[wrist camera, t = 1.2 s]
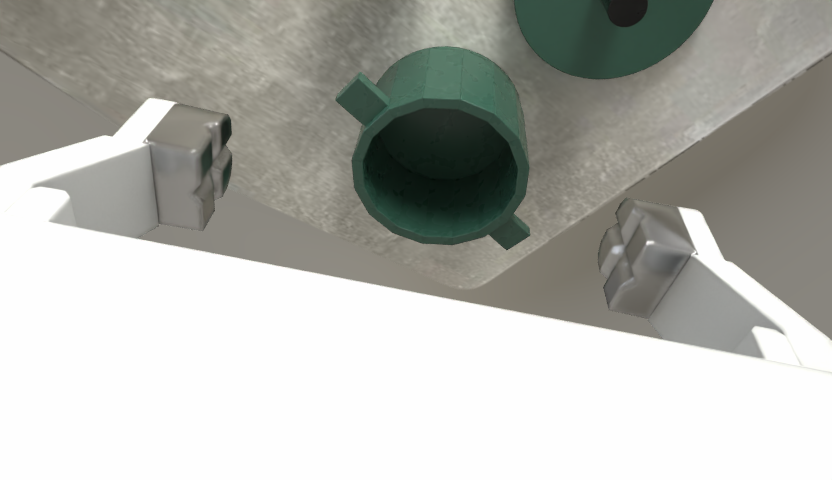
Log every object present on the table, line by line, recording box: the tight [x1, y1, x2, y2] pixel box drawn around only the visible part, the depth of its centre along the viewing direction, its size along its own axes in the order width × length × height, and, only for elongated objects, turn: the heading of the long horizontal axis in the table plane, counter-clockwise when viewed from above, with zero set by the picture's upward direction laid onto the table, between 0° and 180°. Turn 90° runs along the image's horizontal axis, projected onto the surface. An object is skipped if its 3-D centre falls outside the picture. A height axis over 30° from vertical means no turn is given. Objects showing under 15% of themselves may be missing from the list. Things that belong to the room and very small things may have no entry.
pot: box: [336, 47, 530, 250], centre depth 46 cm, size 13×18×8 cm
